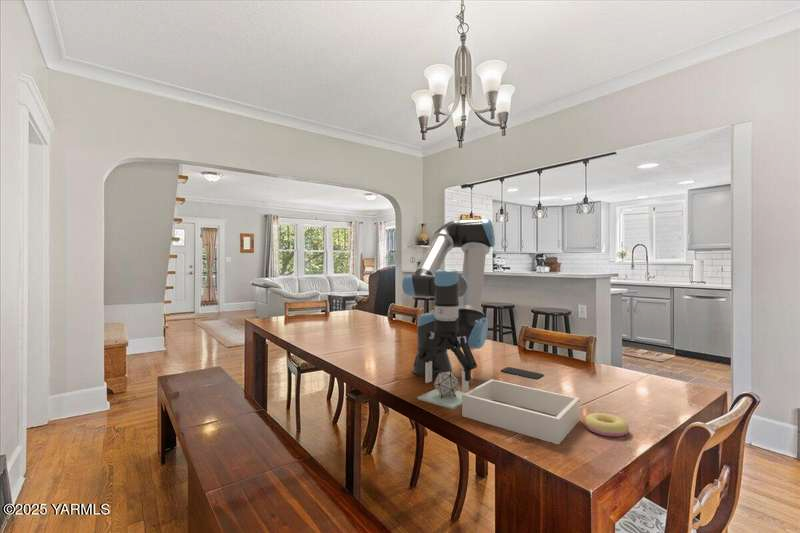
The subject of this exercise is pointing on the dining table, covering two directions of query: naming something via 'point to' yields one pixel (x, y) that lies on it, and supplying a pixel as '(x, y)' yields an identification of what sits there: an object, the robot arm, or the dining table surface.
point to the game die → (446, 383)
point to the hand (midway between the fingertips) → (446, 386)
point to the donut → (606, 424)
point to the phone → (522, 373)
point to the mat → (443, 399)
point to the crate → (519, 419)
